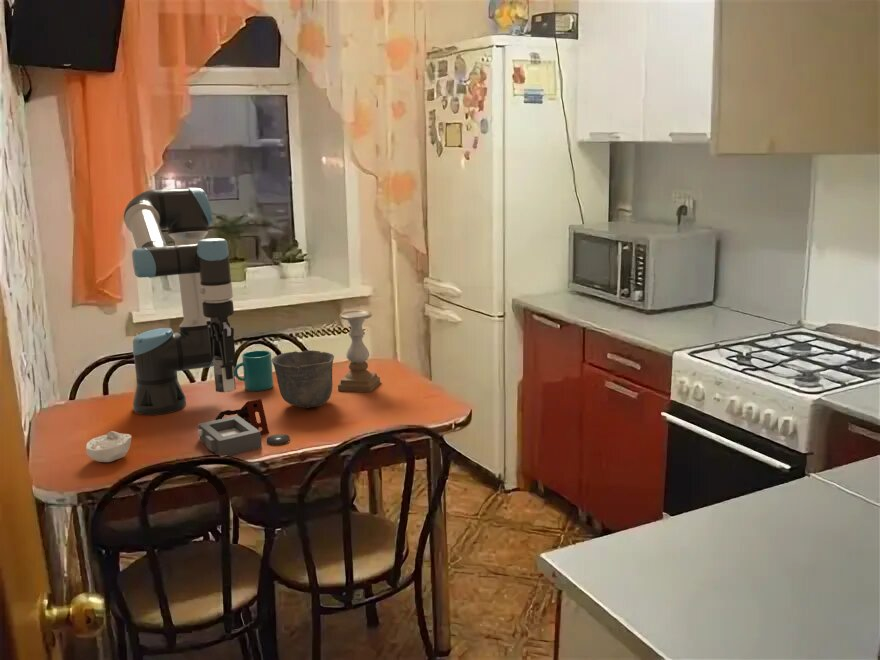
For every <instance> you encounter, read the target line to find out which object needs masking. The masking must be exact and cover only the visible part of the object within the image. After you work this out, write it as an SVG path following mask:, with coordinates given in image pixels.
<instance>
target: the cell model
mask: <svg viewBox="0 0 880 660" xmlns="http://www.w3.org/2000/svg"><path fill="white" fill-rule="evenodd" d="M131 441H132V434H129V433H122V432H121V433H119V432H117V431H113V430H112V431H109V432H107V434H102V435H99V436H97V437H94V438H92V439H90V440H89V441H87V443H86V444H85V445H86V446H85V450H86V455H87V456H88V458H90V459H92V460H94V461H96V462H99V463H111V462H114V461H116V460H119V459H121V458H124V457H125V456H126V455H127V453H128V452H129V449H130V447H131Z"/></svg>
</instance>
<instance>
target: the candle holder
mask: <svg viewBox="0 0 880 660" xmlns="http://www.w3.org/2000/svg"><path fill="white" fill-rule="evenodd" d="M372 316H373V313H372V312H371V311H368V310H348V311H343V312H341V313H340V314H339V318H340V319H341V320H343V321H344V320H345V321H347V323H348V324H349V325H350V330H349V332H348V336H349V337H350V338H351V342H350V345H349V347H348V349H347V351H346V354H345V355H346V359H347V360H348V361H349V362H350V363H349V364H348V369H349V370H350V371H348V372H347V373H346V375H344V376H343V377H342V378H341V379H340V382H339V383H338V385H337V391H339V392H351V393H352V392H354V393H372V391H374V390H375V389H376V388H377V387H378V386H379V385H380V383H381V377H380V376H378V374H377V373H376V372H370V371H369V370H367V369H368V367H369V364H368V363H367V362H366V361H367V360H368V359H369V358H370V351H369V349H368V348H367V346H366V345H365V344H364V341H363V338H364V336H365V335H366V332H365V331H364V329H363V324H364V322H365V320H367V319H370V318H372Z"/></svg>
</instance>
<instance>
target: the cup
mask: <svg viewBox="0 0 880 660" xmlns="http://www.w3.org/2000/svg"><path fill="white" fill-rule="evenodd" d="M241 358H242V362H240V363H238V364H236V365H235V366H234V375H235V378H236V379H237V380H238V381H243V382H244V388H245V390H247V391H250V392H262V391H264V392H265V391H267V390H271V389H272V388H273V386H274V375H273V363H272V352H270V351H268V350H251V351H247V352H244V353H242V356H241ZM241 367H242V368H243V369H242V370H243V371H242V373H243V377H241V376H239V374H238V369H239V368H241Z"/></svg>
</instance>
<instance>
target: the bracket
mask: <svg viewBox="0 0 880 660" xmlns="http://www.w3.org/2000/svg"><path fill="white" fill-rule="evenodd" d="M256 413H258V415H259V420H260V422H258V420H257V417H256ZM233 415H234V416H237V415H238V416H239V417H241V418H242V419H244V420H245V419H247V420H249V424H251V425H252V426H253V427H255V428H256V429H258V430H259V431H260V432H261V436H263V434H264V435H267V433H269V434H270V432H269V431H270V430H269V426H268V422H267V417H266V413H265V408H264V405H263V401H262V399H261V398H259V399H258V398H257V399H253V400H248V401H246V402H245V403H244V404H243V405H242V407H241V408H238V409H234V410H231V409H228V410H227V409H226V410H223V411H221V412H219V413H218V415H217V416H216V418H215V419H214V420H219V419H223V418H225V416H233ZM260 428H261V430H260Z"/></svg>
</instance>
